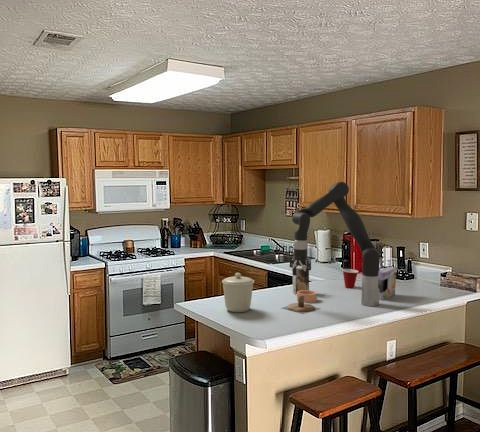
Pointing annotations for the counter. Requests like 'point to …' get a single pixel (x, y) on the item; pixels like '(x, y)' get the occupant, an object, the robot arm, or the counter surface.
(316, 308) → the rubber mat
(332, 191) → the robot arm
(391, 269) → the cake pan box
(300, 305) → the walnut lid
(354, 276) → the plastic cup
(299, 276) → the coffee box
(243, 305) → the canister
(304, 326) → the counter surface
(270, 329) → the counter surface
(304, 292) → the terracotta bowl
